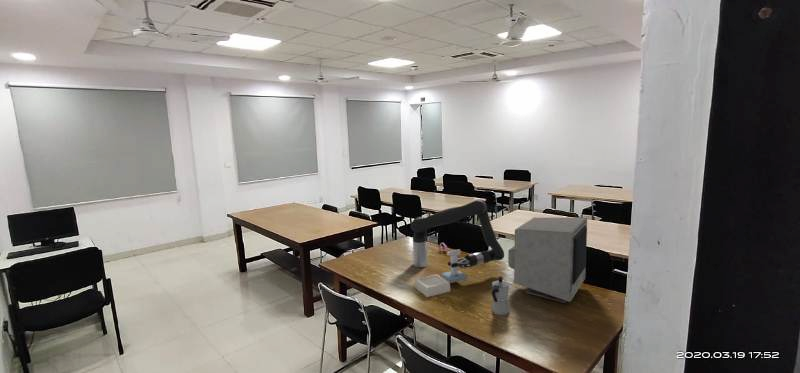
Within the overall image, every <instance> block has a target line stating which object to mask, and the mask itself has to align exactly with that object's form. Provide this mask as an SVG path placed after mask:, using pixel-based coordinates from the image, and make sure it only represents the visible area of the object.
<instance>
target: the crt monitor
mask: <svg viewBox="0 0 800 373" xmlns="http://www.w3.org/2000/svg"><path fill="white" fill-rule="evenodd" d="M587 237H588V217H532V218H531V219H529V220H527V221H526V222H525V223H523V224H522V225H520V226H518V227H517V228H515V229H514V246H512V247H511V248H509V249H508V253H507V255H508V256H507V258H508V259H507V262H508V263H507V264H508V266H509V268H510V269H513V284H516V285H519V286H522V287H525V288H527V289H526V290H525V291H524V293H525V294H528V295H534V296H538V297H540V298H544V299H548V300H551V301H555V302H560V303H564V304H565V303H566V302H568V303H569V302H572V300H573V298H574V297H575V295H576V294H577V292H578V290H579V289H580V287H581V286H582V285H583V283H584V281H585V280H586V267H587V266H586V265H587V241H588V240H587V239H588V238H587Z"/></svg>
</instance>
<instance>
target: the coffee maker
mask: <svg viewBox="0 0 800 373" xmlns="http://www.w3.org/2000/svg"><path fill="white" fill-rule="evenodd" d="M497 278H498V280H494V281H492V283H491V286H492V291H491V296H492V298H493V299H492V300H493V301H492V307H491V311H492V313H493V314H494V315H497V316H508V315H509V313H510V311H511V310H510V306H509V301H508V298H509V297H508V296H509V289H510V282H507V280H504V279H503V276H501V275H500V276H497Z"/></svg>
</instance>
